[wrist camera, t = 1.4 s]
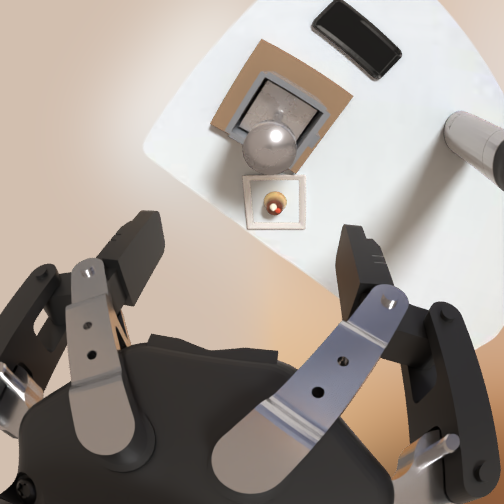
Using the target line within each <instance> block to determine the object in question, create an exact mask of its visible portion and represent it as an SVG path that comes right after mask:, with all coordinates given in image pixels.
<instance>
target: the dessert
mask: <svg viewBox="0 0 504 504" xmlns="http://www.w3.org/2000/svg"><path fill="white" fill-rule="evenodd" d="M242 180H243V189H244V199H245V209H246V219H247V229H305V218H306V175H248V176H242ZM256 180H299V223H275V222H253V210H252V199H251V187H250V181H256ZM286 204H287V200H286V198H285V196H284V195H283V194H282V193H279V192H270V193H268V194H267V195H266V196H265V198H264V205H265V207H266V209H267V211H268V212H269V213H270V214H271V215H278V214H280V213H281V212H282V211H283V209H284V208H285V207H286Z"/></svg>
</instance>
